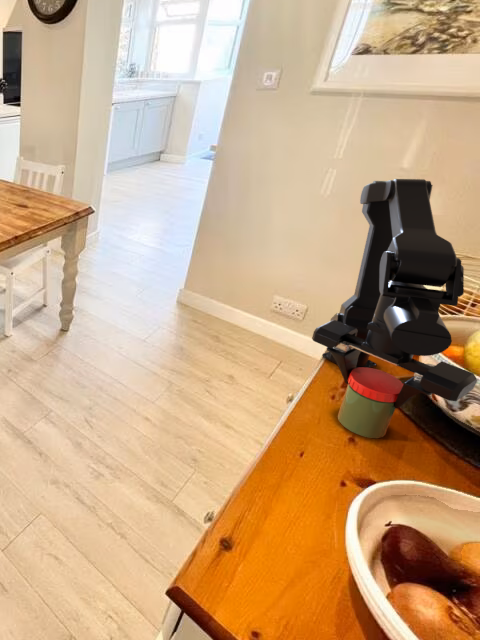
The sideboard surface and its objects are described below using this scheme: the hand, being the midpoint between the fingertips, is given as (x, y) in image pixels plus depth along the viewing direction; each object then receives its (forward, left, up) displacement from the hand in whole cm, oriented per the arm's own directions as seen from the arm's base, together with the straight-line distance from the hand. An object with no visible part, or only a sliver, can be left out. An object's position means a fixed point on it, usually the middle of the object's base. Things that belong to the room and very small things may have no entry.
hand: (371, 394), depth 70 cm
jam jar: (0, 0, -7) cm, 7 cm away
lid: (0, 0, +3) cm, 3 cm away
